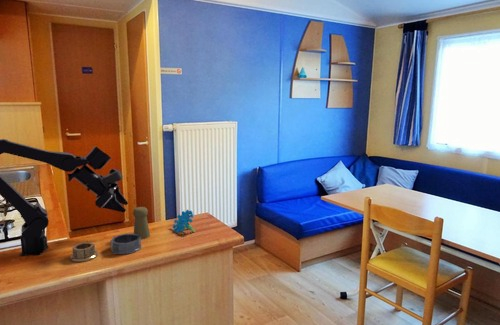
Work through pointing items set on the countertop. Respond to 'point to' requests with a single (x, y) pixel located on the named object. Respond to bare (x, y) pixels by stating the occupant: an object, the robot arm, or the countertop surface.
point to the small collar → (84, 252)
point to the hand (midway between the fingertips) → (126, 207)
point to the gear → (183, 221)
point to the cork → (141, 222)
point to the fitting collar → (125, 244)
